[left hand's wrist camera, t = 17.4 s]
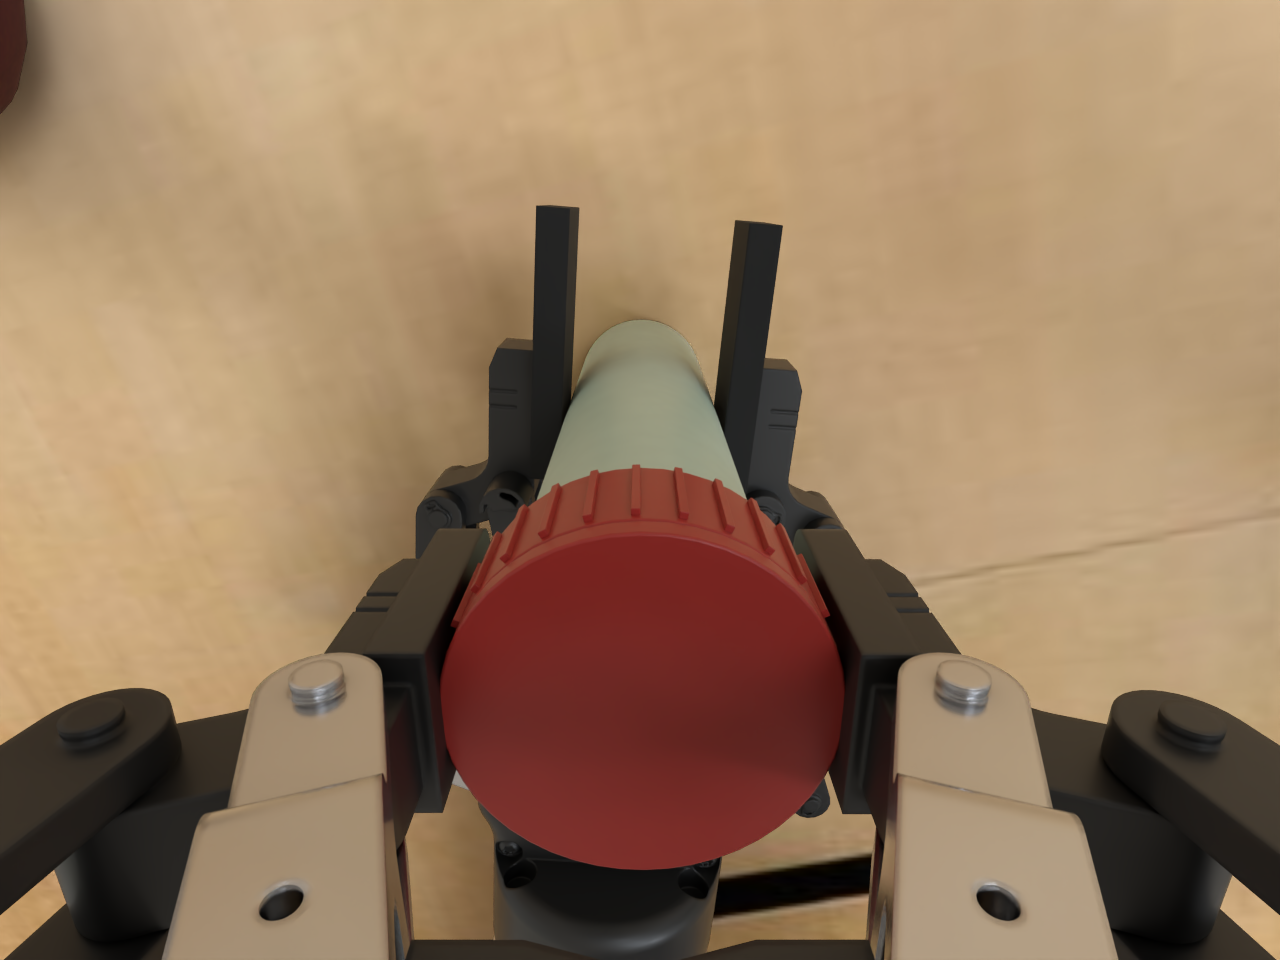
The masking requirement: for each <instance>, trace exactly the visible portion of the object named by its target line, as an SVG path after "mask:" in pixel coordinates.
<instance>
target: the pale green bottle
mask: <svg viewBox="0 0 1280 960" xmlns="http://www.w3.org/2000/svg"><path fill="white" fill-rule="evenodd" d="M636 464H640V468H654V469H667V470H672V471H674V468H675V467H678V468H682V470H683V472H684V473H688V474H692V475H695V476H698V477H701V478H705V479H708V480H711V481H714V479H715V478H716V479H718V480H721V481H722V483H723V486H724V487H726V488H728V489H730V490H732V491H734V492H735V493H737V494H738V495H740V496H742V497H743V498H745V499H746V496H745V493H744V490H743V487H742V484H741V482H740V479H739V476H738V473H737V470H736V467H735V465H734V462H733V459H732V456H731V453H730V450H729V448H728V445H727V442H726V439H725V436H724V433H723V431H722V428H721V425H720V422H719V419H718V416H717V414H716V411H715V408H714V405H713V402H712V399H711V397H710V394H709V391H708V388H707V385H706V382H705V380H704V377H703V374H702V371H701V368H700V365H699V363H698V360H697V357H696V355H695V353H694V351H693V349H692V347H691V346H690V344H689V343H688V342H687V340H686V339H685V338H684V337H683V336H682V335H681V334H680V333H678V332H677V331H676V330H674V329H673V328H671V327H669V326H667V325H665V324H662V323H659V322H656V321H651V320H631V321H626V322H623V323H620V324H618V325H616V326H614V327H612V328H610V329H608V330H607V331H606V332H604V333H603V334H602V335H601V336H600V337H599V338H598V339H597V340H596V341H595V342H594V344H593V345H592V347H591V348H590V350H589V352H588V354H587V356H586V359H585V362H584V365H583V367H582V370H581V373H580V376H579V379H578V382H577V385H576V388H575V391H574V393H573V396H572V399H571V402H570V405H569V408H568V411H567V414H566V417H565V420H564V422H563V425H562V428H561V431H560V434H559V437H558V440H557V443H556V446H555V449H554V451H553V454H552V457H551V460H550V463H549V466H548V469H547V472H546V475H545V478H544V480H543V483H542V486H541V489H540V492H539V495H538V498H537V500H538V499H540V498H541V497H543V496H544V495H546V494H547V493H549V492H550V491H551V488H552V486H553V485H555V484H557V483H559V484H560V486H563V485H565V484H567V483H569V482H571V481H574V480H577V479H580V478H583V477H586V476H589V475H590V471H593V470H598V471H599V473H602V472H606V471H611V470H617V469H631V468H632V465H636Z"/></svg>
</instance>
